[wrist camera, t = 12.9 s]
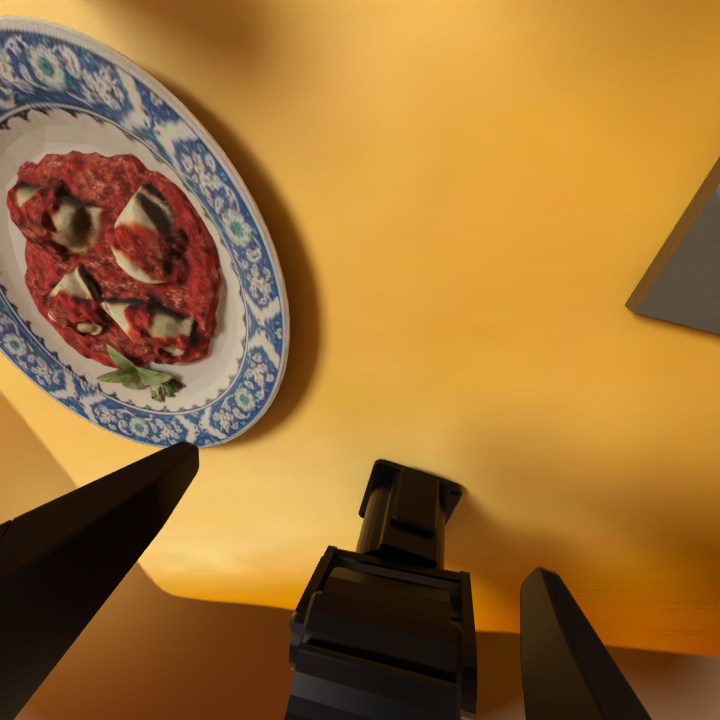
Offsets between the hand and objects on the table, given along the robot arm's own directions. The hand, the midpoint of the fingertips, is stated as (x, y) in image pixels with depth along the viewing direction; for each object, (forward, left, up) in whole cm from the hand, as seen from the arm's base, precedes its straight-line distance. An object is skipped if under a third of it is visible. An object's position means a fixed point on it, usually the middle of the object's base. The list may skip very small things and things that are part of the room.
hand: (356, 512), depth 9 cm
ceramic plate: (-3, +19, -13) cm, 24 cm away
